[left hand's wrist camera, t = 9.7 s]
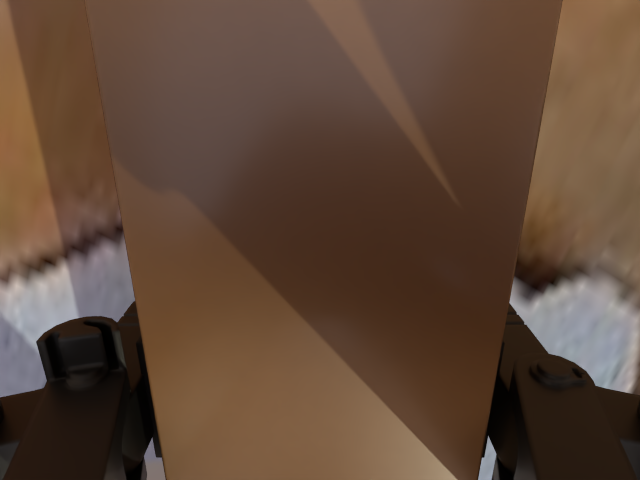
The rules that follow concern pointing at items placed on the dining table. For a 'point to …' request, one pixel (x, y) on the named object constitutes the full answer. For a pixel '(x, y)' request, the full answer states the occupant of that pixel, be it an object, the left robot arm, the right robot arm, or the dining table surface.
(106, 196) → the dining table surface
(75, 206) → the dining table surface
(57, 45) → the dining table surface
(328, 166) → the beam
